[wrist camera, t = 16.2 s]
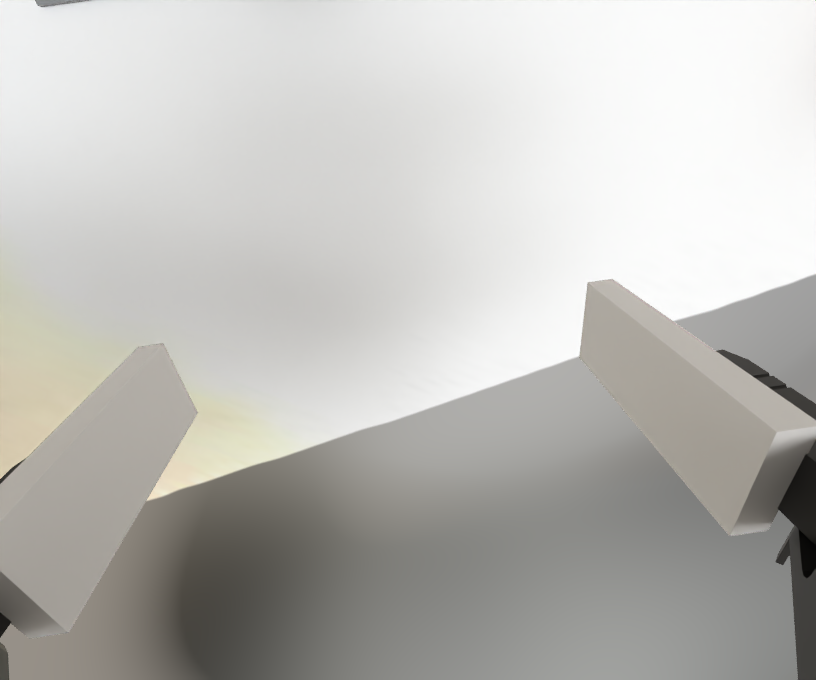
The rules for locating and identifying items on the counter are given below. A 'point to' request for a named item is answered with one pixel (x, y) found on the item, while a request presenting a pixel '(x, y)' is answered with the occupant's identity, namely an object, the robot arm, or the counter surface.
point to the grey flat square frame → (54, 2)
